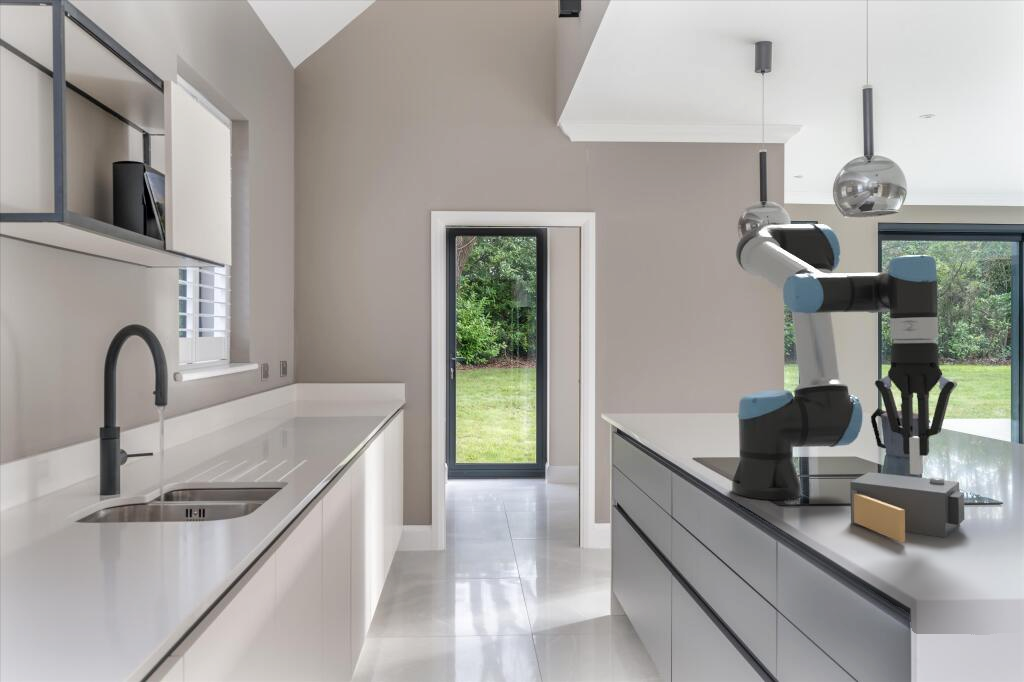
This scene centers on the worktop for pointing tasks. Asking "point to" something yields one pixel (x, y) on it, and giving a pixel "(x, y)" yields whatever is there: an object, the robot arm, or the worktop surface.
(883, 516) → the side door
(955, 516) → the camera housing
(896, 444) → the moka pot
